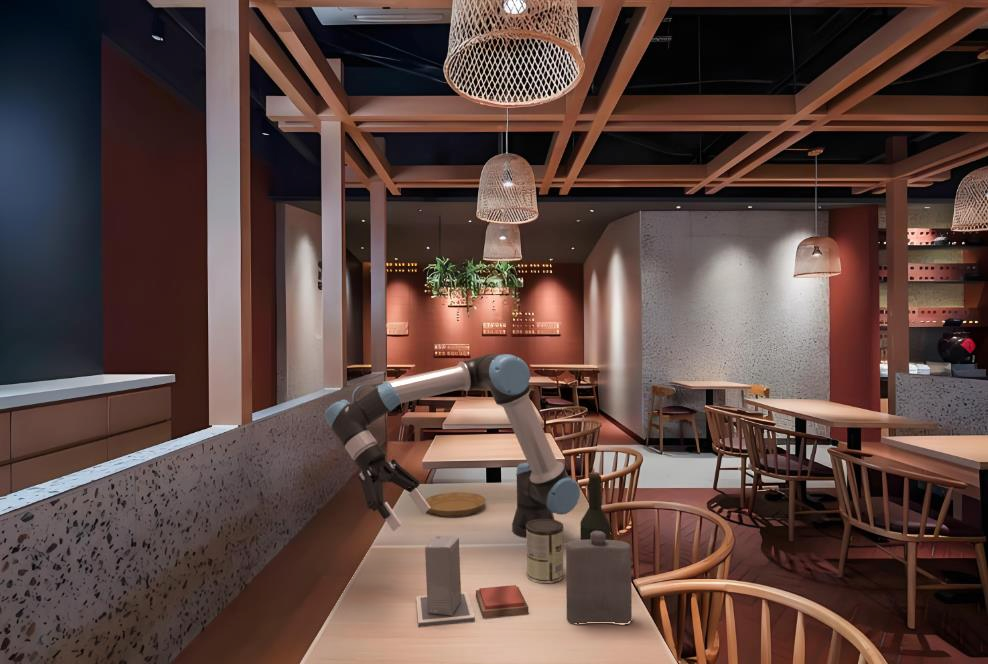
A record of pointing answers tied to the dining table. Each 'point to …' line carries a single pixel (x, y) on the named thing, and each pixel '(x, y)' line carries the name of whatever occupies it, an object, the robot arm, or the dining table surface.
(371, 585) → the dining table surface
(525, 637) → the dining table surface
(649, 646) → the dining table surface
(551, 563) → the coffee can
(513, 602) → the ink pad
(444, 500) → the plant saucer
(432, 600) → the skincare box
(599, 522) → the wine bottle
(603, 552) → the flask
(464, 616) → the marked board
